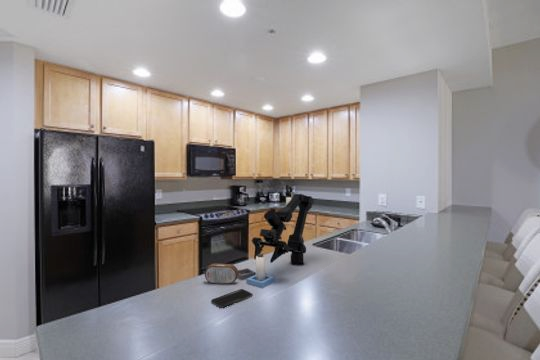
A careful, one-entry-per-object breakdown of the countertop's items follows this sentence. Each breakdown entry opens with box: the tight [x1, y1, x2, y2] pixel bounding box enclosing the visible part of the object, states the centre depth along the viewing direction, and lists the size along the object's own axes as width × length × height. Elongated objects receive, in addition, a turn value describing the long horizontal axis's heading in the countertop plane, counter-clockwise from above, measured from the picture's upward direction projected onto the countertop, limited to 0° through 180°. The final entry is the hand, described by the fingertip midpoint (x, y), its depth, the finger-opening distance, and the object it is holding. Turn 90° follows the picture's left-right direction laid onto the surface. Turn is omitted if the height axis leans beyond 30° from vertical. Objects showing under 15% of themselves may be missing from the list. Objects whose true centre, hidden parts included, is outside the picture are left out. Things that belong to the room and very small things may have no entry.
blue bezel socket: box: [245, 274, 276, 289], centre depth 116 cm, size 9×9×2 cm
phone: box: [210, 288, 254, 309], centre depth 99 cm, size 8×1×15 cm
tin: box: [204, 263, 239, 285], centre depth 116 cm, size 15×3×8 cm, turn 84°
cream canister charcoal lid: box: [255, 253, 266, 281], centre depth 116 cm, size 4×4×12 cm
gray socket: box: [237, 268, 256, 281], centre depth 124 cm, size 8×8×2 cm
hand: (262, 260), depth 117 cm, fingers open, 9 cm apart
